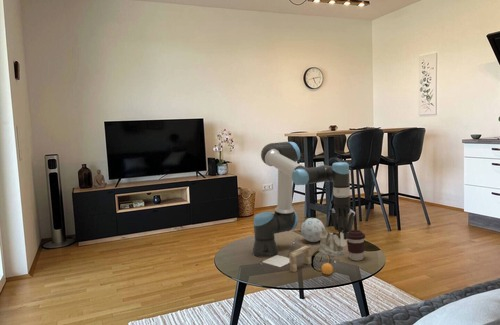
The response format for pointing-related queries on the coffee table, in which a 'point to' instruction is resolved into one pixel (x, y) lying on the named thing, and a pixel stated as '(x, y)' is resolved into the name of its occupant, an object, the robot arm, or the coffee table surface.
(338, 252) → the ceramic cottage
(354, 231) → the coffee cup
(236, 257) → the coffee table surface
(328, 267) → the ball
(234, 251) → the coffee table surface
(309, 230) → the puzzle ball
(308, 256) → the bridge
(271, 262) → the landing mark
